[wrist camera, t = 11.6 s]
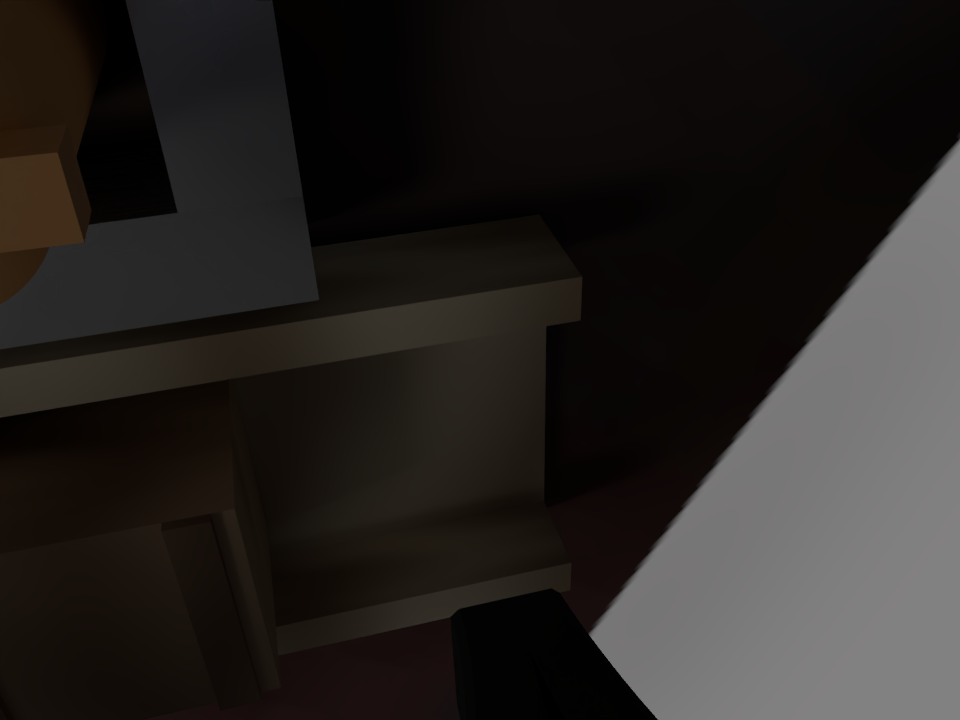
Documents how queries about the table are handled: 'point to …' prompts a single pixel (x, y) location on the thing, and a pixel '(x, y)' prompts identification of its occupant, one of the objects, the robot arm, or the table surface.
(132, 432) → the crate
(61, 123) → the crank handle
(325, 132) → the table surface
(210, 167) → the grey rectangular frame
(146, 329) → the bay
